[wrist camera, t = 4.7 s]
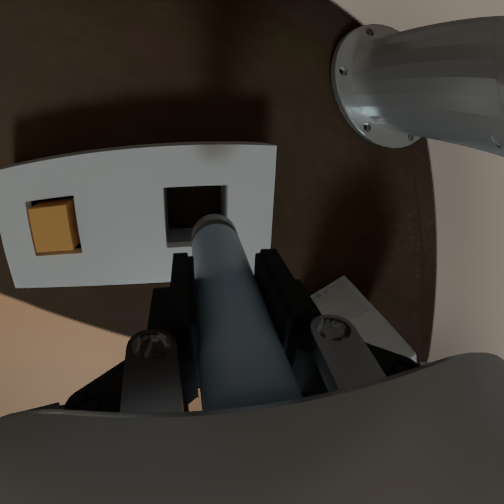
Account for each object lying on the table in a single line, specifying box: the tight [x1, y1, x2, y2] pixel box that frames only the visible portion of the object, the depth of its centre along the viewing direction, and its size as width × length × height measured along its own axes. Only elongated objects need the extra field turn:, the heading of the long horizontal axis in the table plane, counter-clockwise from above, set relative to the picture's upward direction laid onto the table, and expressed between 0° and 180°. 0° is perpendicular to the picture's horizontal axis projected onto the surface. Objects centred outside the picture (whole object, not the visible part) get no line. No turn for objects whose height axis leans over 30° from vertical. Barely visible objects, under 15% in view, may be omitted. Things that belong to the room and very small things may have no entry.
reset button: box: [28, 198, 80, 253], centre depth 18 cm, size 3×3×2 cm
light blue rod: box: [192, 214, 303, 411], centre depth 11 cm, size 2×2×11 cm
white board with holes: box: [0, 141, 277, 288], centre depth 21 cm, size 22×10×4 cm, turn 88°
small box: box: [311, 276, 417, 363], centre depth 26 cm, size 8×6×13 cm
